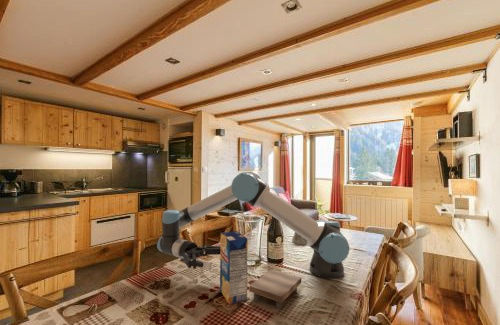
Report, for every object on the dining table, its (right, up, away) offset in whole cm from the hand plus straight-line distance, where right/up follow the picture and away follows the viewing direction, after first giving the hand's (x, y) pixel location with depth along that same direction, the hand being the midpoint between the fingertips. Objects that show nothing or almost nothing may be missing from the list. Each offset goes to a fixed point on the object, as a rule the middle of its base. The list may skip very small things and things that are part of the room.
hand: (222, 260), depth 92 cm
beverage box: (+4, -12, -2) cm, 13 cm away
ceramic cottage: (+46, -14, +64) cm, 80 cm away
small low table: (+20, -12, -2) cm, 24 cm away
